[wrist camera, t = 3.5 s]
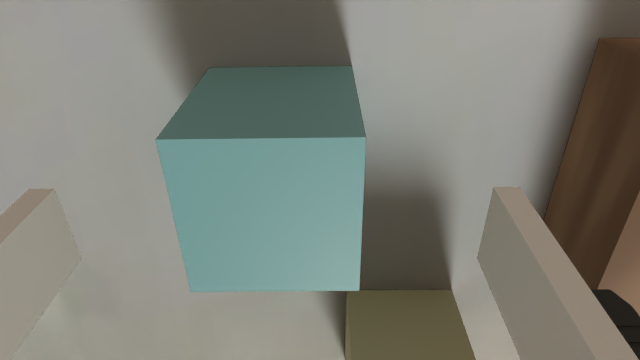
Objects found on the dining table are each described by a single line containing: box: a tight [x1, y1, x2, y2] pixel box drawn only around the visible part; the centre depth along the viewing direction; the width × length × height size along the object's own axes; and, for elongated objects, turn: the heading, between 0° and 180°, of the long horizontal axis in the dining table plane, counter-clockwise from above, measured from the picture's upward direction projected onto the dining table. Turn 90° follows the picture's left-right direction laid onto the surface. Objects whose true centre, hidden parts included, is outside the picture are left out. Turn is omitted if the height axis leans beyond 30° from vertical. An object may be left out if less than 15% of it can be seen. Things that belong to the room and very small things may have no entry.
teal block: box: [156, 66, 366, 292], centre depth 17 cm, size 6×6×7 cm
